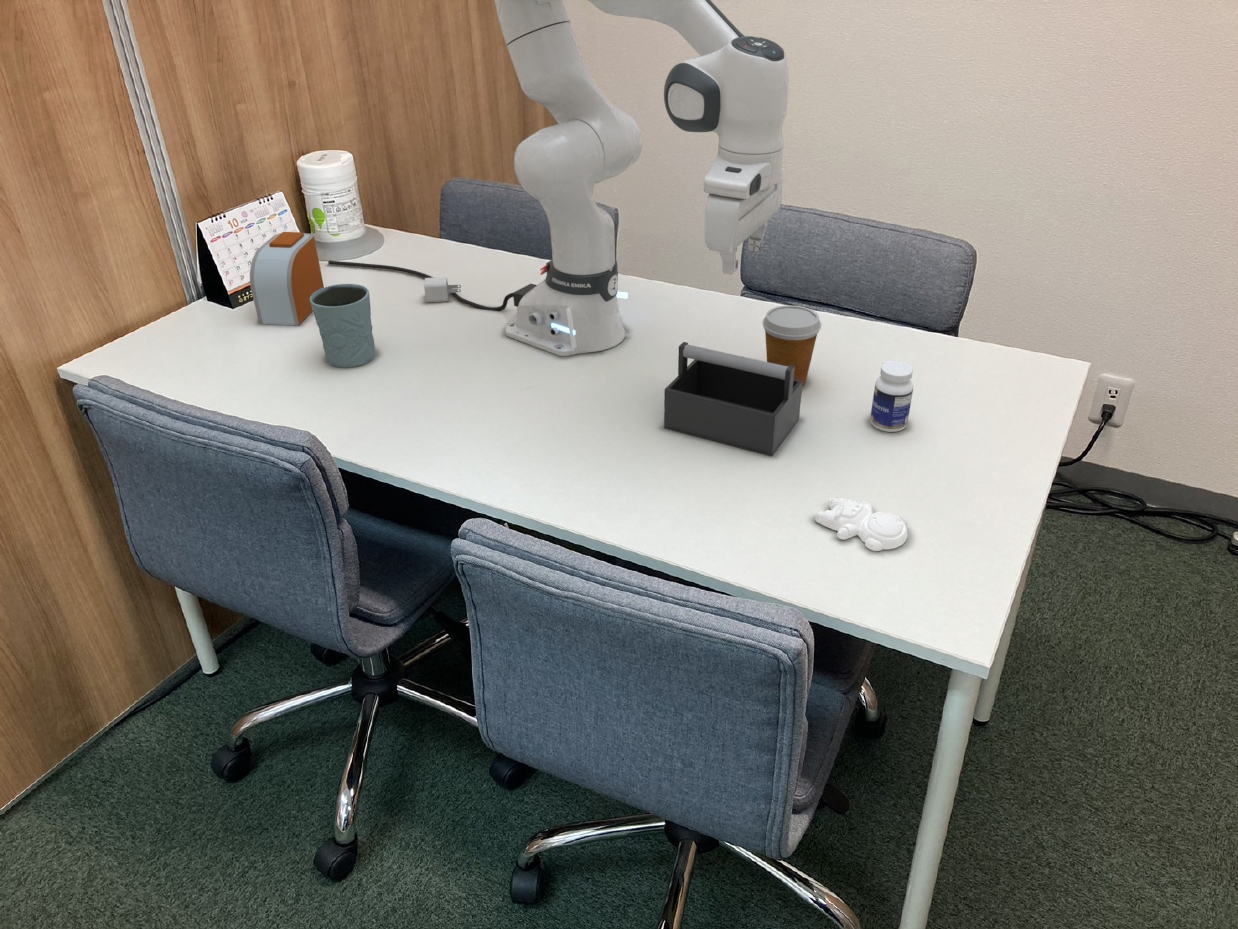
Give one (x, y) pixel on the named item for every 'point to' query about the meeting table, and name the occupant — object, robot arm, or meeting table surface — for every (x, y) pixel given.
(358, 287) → the green embossed cup
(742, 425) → the black bin
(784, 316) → the disposable coffee cup
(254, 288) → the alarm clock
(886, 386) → the pill bottle
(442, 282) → the usb wall charger
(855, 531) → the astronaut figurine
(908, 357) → the meeting table surface
